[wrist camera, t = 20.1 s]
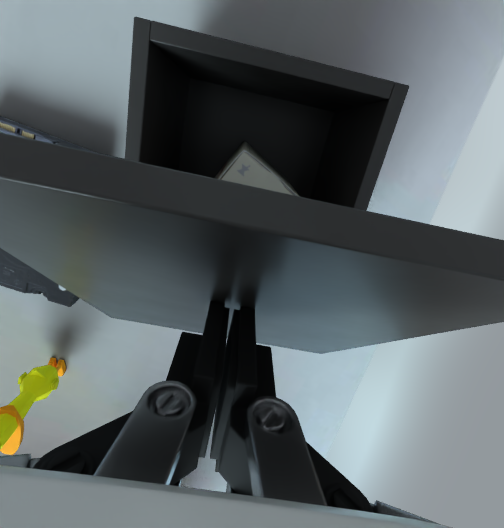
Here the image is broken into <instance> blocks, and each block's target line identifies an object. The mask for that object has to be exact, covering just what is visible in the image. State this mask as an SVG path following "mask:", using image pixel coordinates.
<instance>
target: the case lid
mask: <svg viewBox="0 0 504 528" xmlns="http://www.w3.org/2000/svg"><path fill="white" fill-rule="evenodd" d="M0 248H1V249H3V250H4V251H6V252H8V253H9V254H11V255H12V256H14V257H16V258H17V259H19V260H20V261H22V262H24V263H25V264H27V265H28V266H30V267H31V268H33V269H35V270H36V271H38V272H39V273H41V274H43V275H44V276H46V277H47V278H49V279H51V280H52V281H54V282H55V283H57V284H58V285H60V286H62V287H63V288H65V289H66V290H68V291H70V292H71V293H73V294H74V295H76V296H78V297H79V298H81V299H82V300H84V301H85V302H87V303H89V304H90V305H92V306H93V307H95V308H97V309H98V310H100V311H101V312H103V313H105V314H106V315H108V316H109V317H111V318H117V319H122V320H128V321H134V322H140V323H146V324H151V325H157V326H163V327H169V328H174V329H180V330H186V331H192V332H198V333H203V332H204V327H205V323H206V318H207V314H208V310H209V305H210V301H214V302H219V303H225V306H224V307H226V308H230V311H229V320H228V329H227V338H228V334H229V330H230V325H231V320H232V316H233V312H234V309H237V310H239V309H240V307H247V308H252V309H255V324H256V343H261V344H267V345H273V346H279V347H284V348H290V349H296V350H302V351H308V352H313V353H319V354H323V353H328V352H334V351H340V350H346V349H351V348H357V347H363V346H368V345H374V344H380V343H386V342H391V341H397V340H403V339H408V338H414V337H420V336H425V335H431V334H437V333H443V332H448V331H453V330H460V329H465V328H471V327H477V326H482V325H488V324H493V323H499V322H504V240H499V239H494V238H490V237H485V236H481V235H476V234H472V233H467V232H462V231H457V230H453V229H448V228H444V227H439V226H434V225H430V224H425V223H420V222H416V221H411V220H406V219H402V218H397V217H392V216H388V215H383V214H378V213H374V212H369V211H364V210H360V209H355V208H350V207H346V206H341V205H336V204H332V203H327V202H322V201H318V200H313V199H309V198H304V197H299V196H295V195H290V194H285V193H281V192H276V191H271V190H267V189H262V188H257V187H253V186H248V185H243V184H239V183H234V182H229V181H225V180H220V179H215V178H211V177H206V176H201V175H197V174H192V173H187V172H183V171H178V170H173V169H169V168H164V167H160V166H155V165H150V164H146V163H141V162H136V161H132V160H127V159H122V158H118V157H113V156H108V155H104V154H99V153H94V152H90V151H85V150H80V149H76V148H71V147H66V146H62V145H57V144H52V143H48V142H43V141H38V140H34V139H29V138H24V137H20V136H15V135H10V134H6V133H1V132H0Z"/></svg>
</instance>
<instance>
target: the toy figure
mask: <svg viewBox="0 0 504 528" xmlns="http://www.w3.org/2000/svg"><path fill="white" fill-rule="evenodd" d="M65 371H66V366H65V362H64V360H61V359H59V361H58V364H57V362H56V358H52V357H51V358H50V361H49V363H48V365H46V366H41V367H36V368H33V369H32V370H31V371H30V372H29V373H28V375H27V373H26V372H25V373H24V374H22V375H21V376H20V377H19V380H18V384H20V395H19V396H17V397H16V398H15V399H14V400H13V401H12V402H11V403H10V404H9V405H7V406H3V407H1V408H0V451H1V452H2V453H4V454H10V455H13V454H14V453H15V452H16V451H17V449H18V448H19V446H20V444H21V442H22V439H23V432H24V421H23V419H24V417H25V415H26V414H27V412H28V411H29V409H30V407H31V406H32V404H33V403H34V402H35V401H38V400H42V399H46V398H47V397H48V395H49V394H50V393H51V391H52V390H56V389H57V387H58V383H59V378H58V376H63V375H64V373H65Z"/></svg>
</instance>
